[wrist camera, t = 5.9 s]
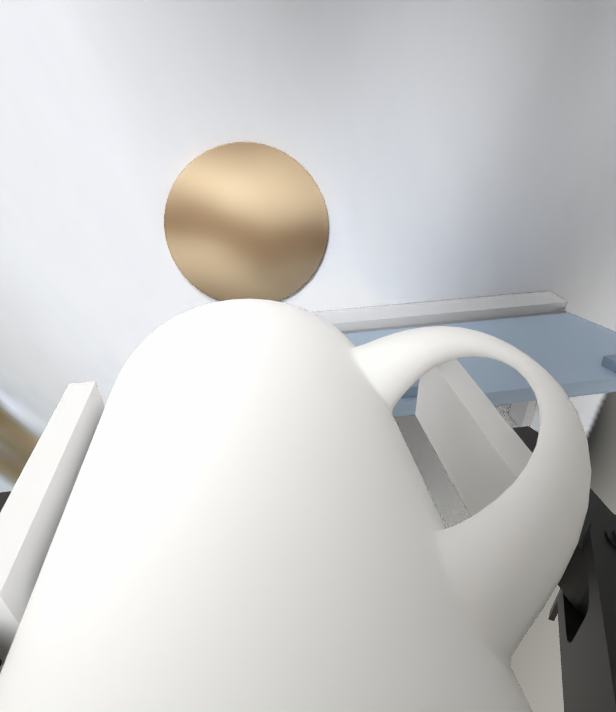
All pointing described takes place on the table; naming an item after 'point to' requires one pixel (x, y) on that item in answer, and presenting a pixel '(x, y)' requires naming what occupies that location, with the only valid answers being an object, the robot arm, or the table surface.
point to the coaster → (246, 223)
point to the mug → (290, 533)
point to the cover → (536, 339)
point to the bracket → (450, 312)
